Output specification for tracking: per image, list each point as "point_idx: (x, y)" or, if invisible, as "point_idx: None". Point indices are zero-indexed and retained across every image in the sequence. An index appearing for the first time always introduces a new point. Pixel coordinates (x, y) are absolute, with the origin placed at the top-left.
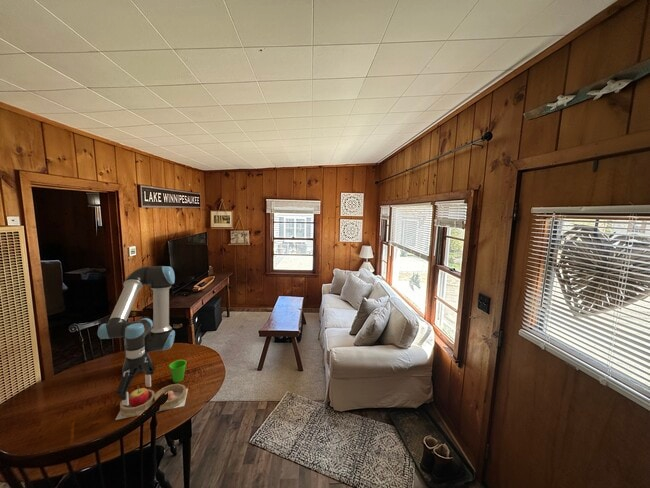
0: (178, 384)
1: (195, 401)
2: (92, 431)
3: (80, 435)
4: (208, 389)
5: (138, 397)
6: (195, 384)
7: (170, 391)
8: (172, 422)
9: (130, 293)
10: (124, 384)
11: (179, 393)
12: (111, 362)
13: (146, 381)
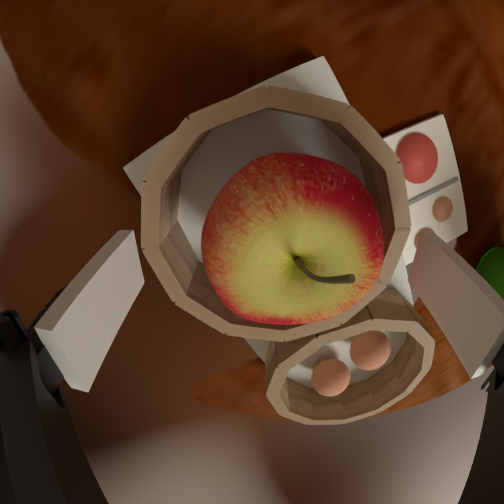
0: (425, 370)
1: None
2: (57, 109)
3: (34, 83)
4: (404, 400)
5: (234, 311)
6: (449, 349)
7: (375, 367)
8: (221, 401)
9: None
10: (2, 492)
11: (391, 353)
12: None
13: (449, 275)
